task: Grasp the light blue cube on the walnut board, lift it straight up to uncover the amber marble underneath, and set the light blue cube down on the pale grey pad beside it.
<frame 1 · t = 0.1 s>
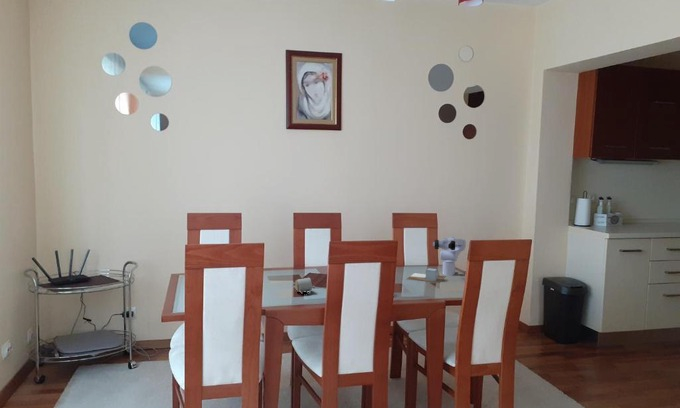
hand: (442, 245, 275), 22 cm above the table, tool horizontal, fingers open, 7 cm apart
pad: (419, 275, 288), resting on board
marble: (431, 277, 279), point 2 cm above the table, touching board
board: (426, 279, 283), on the table
ceramic mug: (304, 293, 253), on the table
light blue cube: (431, 279, 279), point 1 cm above the table, touching board
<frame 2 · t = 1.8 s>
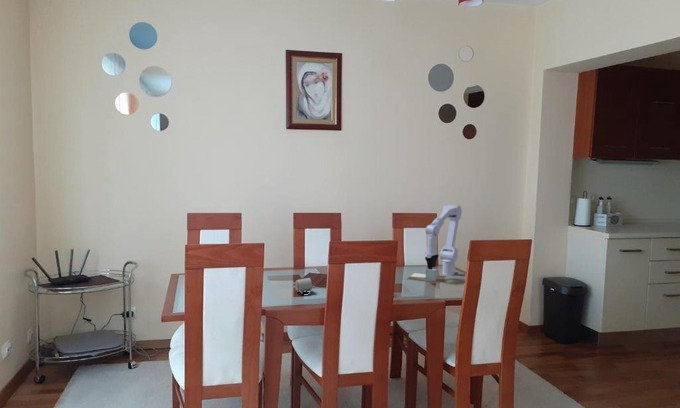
hand: (431, 268, 278), 8 cm above the table, tool pointing down, fingers open, 7 cm apart
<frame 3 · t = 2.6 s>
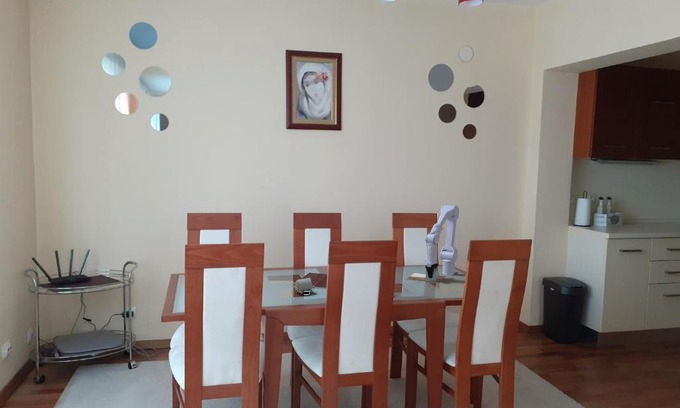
hand: (431, 276, 279), 3 cm above the table, tool pointing down, fingers closed on light blue cube, 6 cm apart
light blue cube: (431, 279, 279), point 1 cm above the table, touching board, gripper
everything else where it was.
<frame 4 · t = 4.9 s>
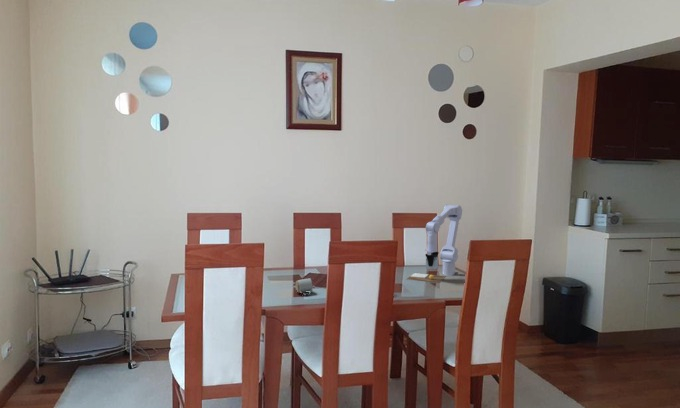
hand: (431, 265, 278), 10 cm above the table, tool pointing down, fingers closed on light blue cube, 6 cm apart
light blue cube: (431, 267, 278), point 8 cm above the table, touching gripper
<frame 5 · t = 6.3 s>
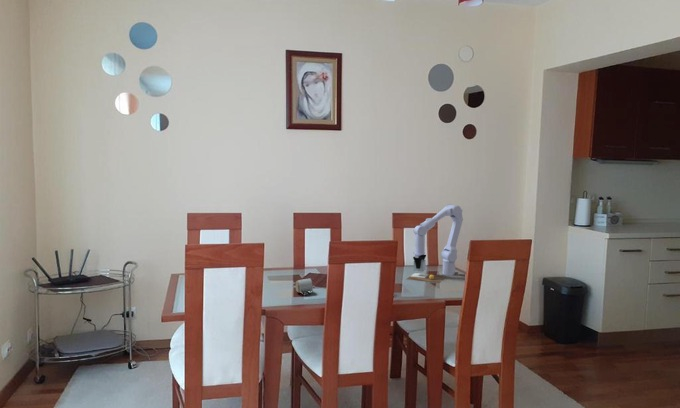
hand: (419, 267, 288), 6 cm above the table, tool pointing down, fingers closed on light blue cube, 6 cm apart
light blue cube: (419, 270, 288), point 5 cm above the table, touching gripper
when the fingers open (4 cm above the table, at t = 7.3 s): light blue cube stays where it is, resting on pad.
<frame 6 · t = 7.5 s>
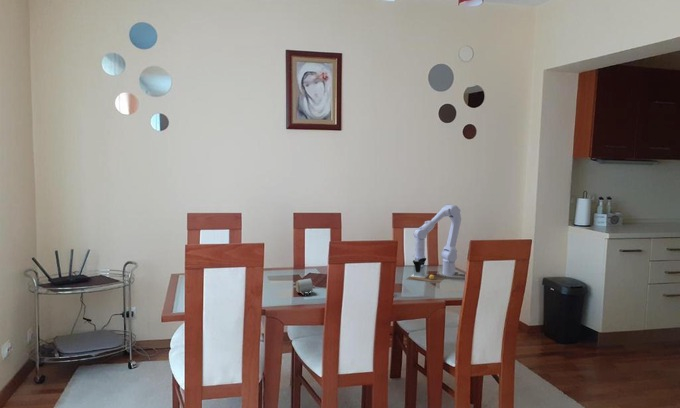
hand: (419, 270, 288), 4 cm above the table, tool pointing down, fingers open, 7 cm apart
light blue cube: (419, 275, 288), point 1 cm above the table, touching pad
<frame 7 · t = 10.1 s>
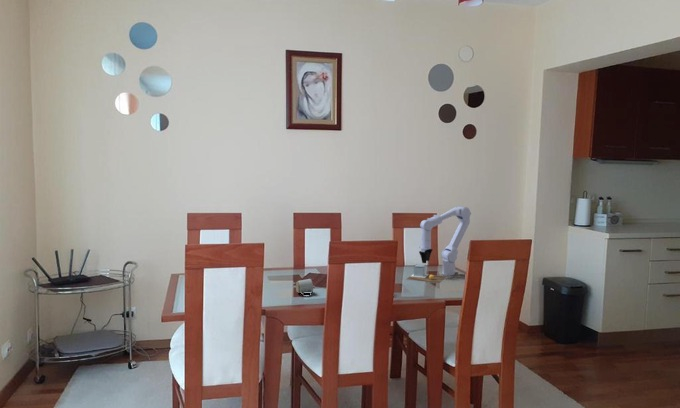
hand: (425, 261, 289), 9 cm above the table, tool pointing down, fingers open, 7 cm apart
at the end: light blue cube 0.0 cm off-centre on the pad, point 0.4 cm above the pad's base; light blue cube tilted 0°; the gripper is holding nothing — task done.
